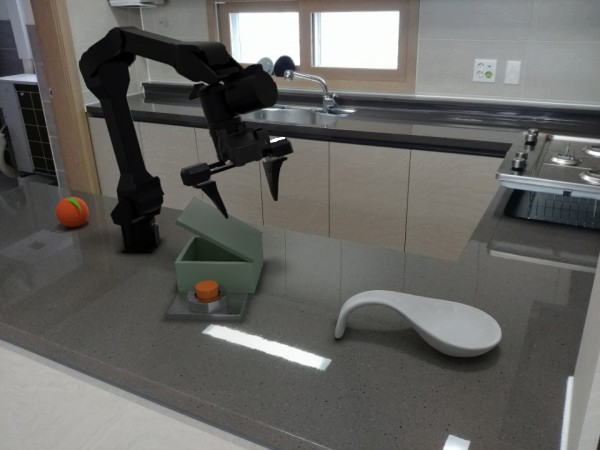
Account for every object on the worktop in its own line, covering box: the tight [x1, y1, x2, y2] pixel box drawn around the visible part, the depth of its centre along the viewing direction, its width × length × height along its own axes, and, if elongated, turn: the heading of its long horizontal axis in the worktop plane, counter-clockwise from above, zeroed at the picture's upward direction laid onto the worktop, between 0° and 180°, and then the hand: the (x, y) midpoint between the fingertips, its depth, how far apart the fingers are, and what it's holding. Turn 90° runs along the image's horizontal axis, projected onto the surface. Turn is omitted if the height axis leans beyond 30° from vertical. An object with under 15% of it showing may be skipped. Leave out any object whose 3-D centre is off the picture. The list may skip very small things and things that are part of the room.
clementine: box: [55, 196, 90, 228], centre depth 122 cm, size 8×7×7 cm
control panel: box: [166, 284, 249, 322], centre depth 89 cm, size 12×7×3 cm, turn 85°
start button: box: [196, 280, 219, 300], centre depth 88 cm, size 4×4×2 cm
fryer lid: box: [174, 195, 264, 263], centre depth 95 cm, size 14×12×1 cm
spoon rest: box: [334, 289, 503, 358], centre depth 78 cm, size 24×12×7 cm, turn 78°
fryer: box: [174, 234, 264, 294], centre depth 98 cm, size 14×12×6 cm
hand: (251, 209), depth 92 cm, fingers open, 9 cm apart
